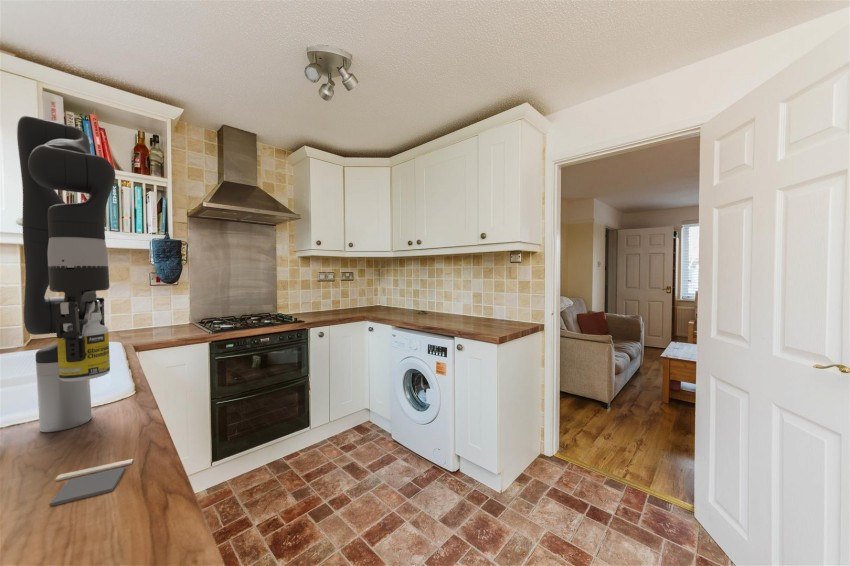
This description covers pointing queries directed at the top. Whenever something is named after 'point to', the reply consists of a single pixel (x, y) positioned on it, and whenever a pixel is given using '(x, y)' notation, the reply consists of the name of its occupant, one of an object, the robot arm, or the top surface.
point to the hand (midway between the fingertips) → (84, 356)
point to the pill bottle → (87, 354)
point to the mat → (88, 486)
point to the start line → (94, 469)
